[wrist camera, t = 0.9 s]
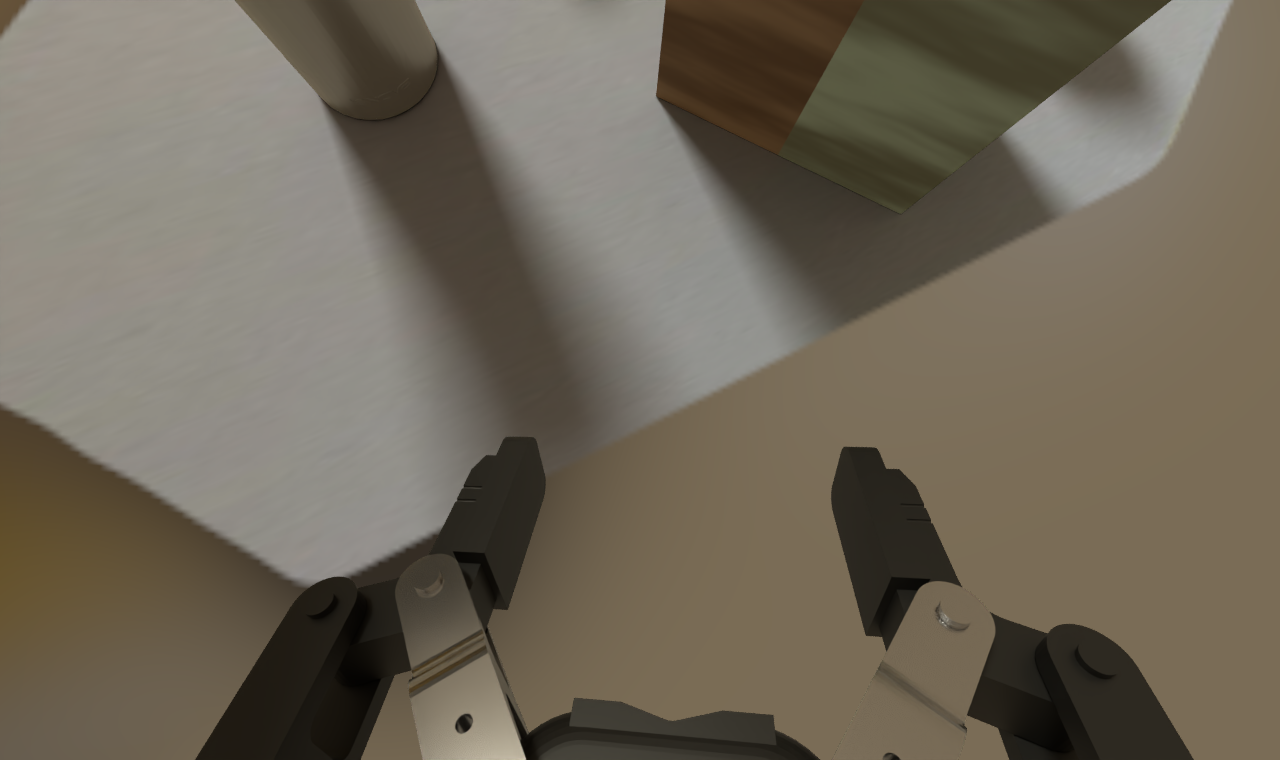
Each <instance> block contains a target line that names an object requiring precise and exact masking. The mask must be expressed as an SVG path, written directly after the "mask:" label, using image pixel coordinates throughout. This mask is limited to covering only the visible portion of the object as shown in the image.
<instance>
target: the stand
mask: <svg viewBox="0 0 1280 760" xmlns="http://www.w3.org/2000/svg"><path fill="white" fill-rule="evenodd" d="M1170 1H1171V0H666V4H665V14H664V24H663V33H662V43H661V53H660V63H659V73H658V83H657V93H656V96H657V97H659V98H661V99H663V100H665V101H667V102H669V103H671V104H673V105H675V106H677V107H679V108H682V109H684V110H686V111H688V112H690V113H692V114H694V115H696V116H698V117H700V118H702V119H704V120H706V121H708V122H711V123H713V124H715V125H717V126H719V127H721V128H723V129H725V130H727V131H729V132H731V133H733V134H735V135H737V136H740V137H742V138H744V139H746V140H748V141H750V142H752V143H754V144H756V145H758V146H760V147H762V148H764V149H766V150H769V151H771V152H773V153H775V154H777V155H779V156H781V157H783V158H785V159H787V160H789V161H791V162H793V163H796V164H798V165H800V166H802V167H804V168H806V169H808V170H810V171H812V172H814V173H816V174H818V175H820V176H822V177H825V178H827V179H829V180H831V181H833V182H835V183H837V184H839V185H841V186H843V187H845V188H847V189H849V190H851V191H854V192H856V193H858V194H860V195H862V196H864V197H866V198H868V199H870V200H872V201H874V202H876V203H878V204H880V205H883V206H885V207H887V208H889V209H891V210H893V211H895V212H897V213H899V214H902V213H903V212H904V211H905V210H907V209H908V208H909V207H911V206H912V205H913V204H914V203H916V202H917V201H918V200H919V199H921V198H922V197H923V196H924V195H926V194H927V193H928V192H929V191H931V190H932V189H933V188H935V187H936V186H937V185H938V184H940V183H941V182H942V181H943V180H945V179H946V178H947V177H948V176H950V175H951V174H952V173H954V172H955V171H956V170H957V169H959V168H960V167H961V166H962V165H964V164H965V163H966V162H967V161H969V160H970V159H971V158H973V157H974V156H975V155H976V154H978V153H979V152H980V151H981V150H983V149H984V148H985V147H986V146H988V145H989V144H990V143H991V142H993V141H994V140H995V139H997V138H998V137H999V136H1000V135H1002V134H1003V133H1004V132H1005V131H1007V130H1008V129H1009V128H1010V127H1012V126H1013V125H1014V124H1016V123H1017V122H1018V121H1019V120H1021V119H1022V118H1023V117H1024V116H1026V115H1027V114H1028V113H1029V112H1031V111H1032V110H1033V109H1035V108H1036V107H1037V106H1038V105H1040V104H1041V103H1042V102H1043V101H1045V100H1046V99H1047V98H1048V97H1050V96H1051V95H1052V94H1053V93H1055V92H1056V91H1057V90H1059V89H1060V88H1061V87H1062V86H1064V85H1065V84H1066V83H1067V82H1069V81H1070V80H1071V79H1072V78H1074V77H1075V76H1076V75H1078V74H1079V73H1080V72H1081V71H1083V70H1084V69H1085V68H1086V67H1088V66H1089V65H1090V64H1091V63H1093V62H1094V61H1095V60H1097V59H1098V58H1099V57H1100V56H1102V55H1103V54H1104V53H1105V52H1107V51H1108V50H1109V49H1110V48H1112V47H1113V46H1114V45H1115V44H1117V43H1118V42H1119V41H1121V40H1122V39H1123V38H1124V37H1126V36H1127V35H1128V34H1129V33H1131V32H1132V31H1133V30H1134V29H1136V28H1137V27H1138V26H1140V25H1141V24H1142V23H1143V22H1145V21H1146V20H1147V19H1148V18H1150V17H1151V16H1152V15H1153V14H1155V13H1156V12H1157V11H1158V10H1160V9H1161V8H1162V7H1164V6H1165V5H1166V4H1167V3H1169V2H1170Z"/></svg>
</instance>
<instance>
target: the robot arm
mask: <svg viewBox="0 0 1280 760" xmlns="http://www.w3.org/2000/svg"><path fill="white" fill-rule="evenodd" d="M235 1H236V2H237V4H238V5H239V6H240V7H241V8H242V9H243V10H244V12H245V13H246V14H247V15H248V16H249V17H250V18H251V19H252V21H253V22H254V23H255V24H256V25H257V26H258V27H259V28H260V30H261V31H262V32H263V33H264V34H265V35H266V36H267V37H268V39H269V40H270V41H271V42H272V43H273V44H274V45H275V46H276V48H277V49H278V50H279V51H280V52H281V53H282V54H283V56H284V57H285V58H286V59H287V60H288V61H289V62H290V64H291V65H292V66H293V67H294V68H295V69H296V70H297V71H298V73H299V74H300V75H301V76H302V77H303V78H304V79H305V80H306V82H307V83H308V84H309V85H310V86H311V87H312V88H313V89H314V90H315V92H316V93H317V94H318V95H319V96H320V97H321V98H322V99H323V100H324V101H325V102H326V103H327V104H328V105H329V106H330V107H332V108H333V109H335V110H337V111H338V112H340V113H342V114H344V115H347V116H350V117H353V118H357V119H365V120H377V119H385V118H389V117H393V116H396V115H398V114H400V113H403V112H405V111H407V110H409V109H410V108H411V107H413V106H414V105H415V104H416V103H418V102H419V101H420V100H421V99H422V98H423V96H424V95H425V94H426V93H427V92H428V90H429V88H430V86H431V84H432V83H433V81H434V78H435V74H436V70H437V59H438V56H437V50H436V45H435V42H434V40H433V38H432V36H431V33H430V31H429V29H428V27H427V25H426V23H425V21H424V18H423V16H422V14H421V12H420V10H419V8H418V6H417V4H416V1H415V0H235ZM544 494H545V474H544V470H543V466H542V462H541V458H540V454H539V450H538V446H537V442H536V439H535V438H534V437H506V438H505V439H504V440H503V442H502V444H501V446H500V448H499V451H498V453H497V455H496V456H493V455H486V456H485V457H484V458H483V459H482V460H481V461H480V462H479V463H478V464H477V465H476V466H475V467H474V468H473V469H472V470H471V472H470V474H469V476H468V478H467V480H466V482H465V484H464V488H463V489H462V490H461V492H460V494H459V496H458V498H457V502H455V504H454V506H453V508H452V510H451V512H450V514H449V516H448V518H447V520H446V522H445V524H444V526H443V528H442V530H441V532H440V534H439V536H438V538H437V540H436V542H435V544H434V546H433V548H432V550H431V552H430V553H429V555H428V556H426V557H423V558H421V559H419V560H417V561H416V562H414V563H413V564H411V565H410V566H409V567H408V568H407V569H406V570H405V571H404V573H403V574H402V575H401V577H399V578H396V579H393V580H389V581H385V582H381V583H377V584H373V585H369V586H365V587H361V588H358V587H357V586H356V585H355V583H354V582H353V581H352V580H350V579H349V578H345V577H332V578H328V579H325V580H322V581H320V582H318V583H316V584H314V585H313V586H311V587H310V588H308V589H307V590H306V591H304V592H303V593H302V594H301V595H300V596H299V597H298V598H297V600H295V602H294V603H293V605H292V606H291V607H290V609H289V611H288V612H287V614H286V616H285V617H284V619H283V620H282V622H281V624H280V625H279V627H278V628H277V630H276V631H275V633H274V635H273V636H272V638H271V639H270V641H269V643H268V644H267V646H266V648H265V649H264V651H263V652H262V654H261V655H260V657H259V659H258V660H257V662H256V664H255V665H254V667H253V668H252V670H251V671H250V673H249V675H248V676H247V678H246V680H245V681H244V683H243V684H242V686H241V688H240V689H239V691H238V692H237V694H236V695H235V697H234V699H233V700H232V702H231V703H230V705H229V707H228V708H227V710H226V711H225V713H224V715H223V716H222V718H221V719H220V721H219V723H218V724H217V726H216V727H215V729H214V730H213V732H212V734H211V735H210V737H209V739H208V740H207V742H206V743H205V745H204V746H203V748H202V750H201V751H200V753H199V754H198V756H197V758H196V760H361V756H362V755H363V752H364V750H365V747H366V745H367V742H368V740H369V737H370V735H371V732H372V730H373V727H374V725H375V723H376V720H377V717H378V715H379V713H380V710H381V707H382V705H383V703H384V700H385V698H386V695H387V693H388V690H389V688H390V685H391V683H392V680H393V678H394V676H395V675H396V674H400V673H403V672H407V671H410V670H412V679H410V680H409V683H408V688H409V696H410V701H411V705H412V709H413V715H414V719H415V724H416V729H417V733H418V739H419V744H420V748H421V753H422V758H423V760H820V759H819V758H818V757H817V756H815V755H814V754H813V753H812V752H811V751H810V750H809V749H807V748H806V747H805V746H803V745H802V744H800V743H799V742H797V741H796V740H794V739H793V738H791V737H789V736H787V735H785V734H783V733H781V732H778V731H776V730H775V727H774V718H773V715H766V714H755V713H743V712H732V711H719V712H714V713H710V714H705V715H700V716H696V717H691V718H686V719H682V720H677V721H668V720H665V719H663V718H660V717H657V716H655V715H652V714H650V713H648V712H645V711H643V710H640V709H638V708H635V707H633V706H630V705H628V704H625V703H623V702H616V701H604V700H593V699H582V698H574V701H573V707H572V712H570V713H566V714H562V715H560V716H557V717H554V718H552V719H550V720H549V721H546V722H545V723H543V724H541V725H540V726H538V727H537V728H535V729H534V730H532V731H531V732H530V733H529V732H528V729H527V727H526V724H525V722H524V719H523V717H522V714H521V712H520V709H519V707H518V704H517V702H516V700H515V697H514V695H513V692H512V689H511V687H510V684H509V682H508V679H507V676H506V673H505V670H504V668H503V665H502V663H501V660H500V657H499V654H498V652H497V649H496V646H495V643H494V641H493V638H492V635H491V633H490V630H489V627H488V622H489V619H490V616H491V613H492V611H493V609H502V610H508V607H509V604H510V601H511V598H512V595H513V592H514V588H515V586H516V583H517V579H518V576H519V573H520V570H521V567H522V564H523V561H524V558H525V554H526V551H527V548H528V545H529V542H530V539H531V536H532V532H533V529H534V526H535V523H536V520H537V517H538V514H539V511H540V508H541V505H542V502H543V498H544ZM831 501H832V510H833V514H834V518H835V521H836V525H837V529H838V533H839V536H840V540H841V544H842V548H843V552H844V555H845V559H846V563H847V567H848V570H849V574H850V578H851V582H852V585H853V589H854V593H855V597H856V600H857V604H858V608H859V612H860V616H861V619H862V623H863V627H864V630H865V634H866V636H879V637H882V638H883V642H884V645H885V648H886V654H885V656H884V658H883V660H882V662H881V664H880V666H879V668H878V670H877V672H876V673H875V675H874V677H873V679H872V681H871V683H870V685H869V687H868V689H867V691H866V693H865V695H864V697H863V699H862V701H861V703H860V705H859V707H858V709H857V711H856V713H855V715H854V717H853V719H852V721H851V723H850V725H849V727H848V729H847V731H846V733H845V735H844V737H843V739H842V741H841V743H840V745H839V746H838V748H837V750H836V752H835V754H834V757H833V758H832V760H959V757H960V754H961V751H962V748H963V745H964V742H965V738H966V733H967V728H966V727H965V726H964V724H965V719H966V716H967V715H968V716H970V717H973V718H975V719H978V720H980V721H982V722H985V723H987V724H990V725H992V726H995V727H997V728H998V729H999V732H1000V735H1001V737H1002V740H1003V743H1004V746H1005V749H1006V752H1007V754H1008V757H1009V760H1194V759H1193V758H1192V756H1191V754H1190V753H1189V751H1188V749H1187V748H1186V746H1185V744H1184V743H1183V741H1182V739H1181V738H1180V736H1179V735H1178V733H1177V731H1176V730H1175V728H1174V726H1173V725H1172V723H1171V721H1170V720H1169V718H1168V716H1167V715H1166V713H1165V711H1164V710H1163V708H1162V706H1161V705H1160V703H1159V702H1158V700H1157V698H1156V696H1155V695H1154V693H1153V692H1152V690H1151V688H1150V687H1149V685H1148V683H1147V682H1146V680H1145V678H1144V677H1143V675H1142V673H1141V672H1140V670H1139V669H1138V667H1137V665H1136V664H1135V663H1134V661H1133V660H1132V659H1131V658H1130V656H1129V655H1128V654H1127V653H1126V652H1125V651H1124V650H1123V649H1122V648H1121V647H1119V646H1118V645H1117V644H1116V643H1114V642H1113V641H1112V640H1110V639H1109V638H1107V637H1105V636H1104V635H1102V634H1100V633H1099V632H1097V631H1094V630H1092V629H1090V628H1087V627H1084V626H1080V625H1075V624H1062V625H1058V626H1056V627H1054V628H1053V629H1051V630H1050V632H1049V633H1048V634H1047V633H1044V632H1041V631H1038V630H1035V629H1032V628H1029V627H1026V626H1023V625H1020V624H1017V623H1014V622H1011V621H1009V620H1006V619H1003V618H1001V617H998V616H997V615H994V614H993V613H991V612H989V610H988V609H987V607H986V606H985V605H984V604H983V603H982V602H981V601H980V600H979V599H978V598H977V597H976V596H975V595H973V594H972V593H971V592H969V591H967V590H966V589H964V588H962V586H961V584H960V582H959V580H958V578H957V576H956V574H955V572H954V569H953V567H952V565H951V563H950V561H949V558H948V556H947V554H946V552H945V550H944V547H943V545H942V543H941V541H940V539H939V537H938V535H937V532H936V530H935V528H934V525H933V524H931V519H930V517H929V514H928V512H927V510H926V508H924V503H923V501H922V499H921V497H920V495H919V492H918V490H917V488H916V486H915V485H914V484H913V483H912V482H911V481H910V480H909V479H908V478H907V477H906V476H905V475H904V474H903V473H902V472H901V471H900V470H899V469H886V468H885V465H884V463H883V460H882V458H881V455H880V453H879V451H878V449H877V448H872V447H844V448H843V449H842V451H841V454H840V458H839V462H838V466H837V470H836V474H835V478H834V481H833V485H832V492H831Z"/></svg>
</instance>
